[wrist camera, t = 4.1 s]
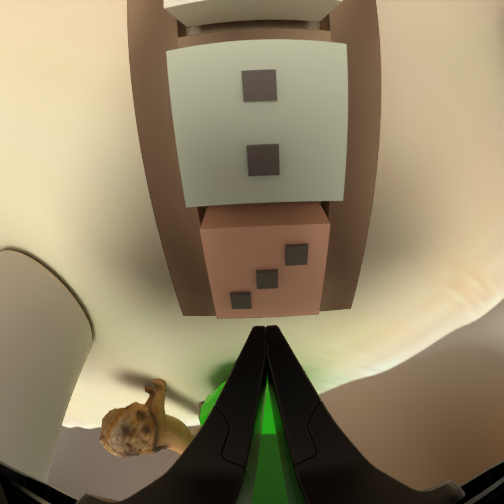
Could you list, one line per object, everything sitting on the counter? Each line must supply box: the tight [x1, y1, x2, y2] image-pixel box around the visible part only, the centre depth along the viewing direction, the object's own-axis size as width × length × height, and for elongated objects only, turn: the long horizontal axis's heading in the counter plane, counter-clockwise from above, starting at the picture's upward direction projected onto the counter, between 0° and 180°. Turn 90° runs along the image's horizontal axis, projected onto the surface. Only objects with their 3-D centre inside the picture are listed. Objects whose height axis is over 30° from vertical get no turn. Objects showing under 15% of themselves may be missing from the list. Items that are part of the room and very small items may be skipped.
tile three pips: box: [200, 201, 330, 319], centre depth 13 cm, size 5×5×3 cm
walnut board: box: [127, 0, 381, 316], centre depth 10 cm, size 10×21×2 cm, turn 3°
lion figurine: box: [99, 379, 204, 457], centre depth 22 cm, size 15×5×9 cm, turn 46°
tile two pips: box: [166, 39, 348, 207], centre depth 8 cm, size 5×5×3 cm
